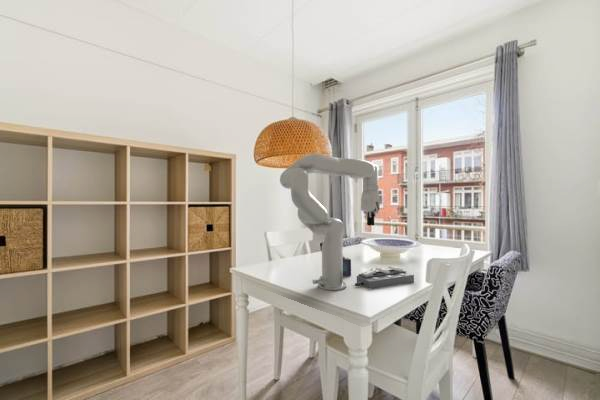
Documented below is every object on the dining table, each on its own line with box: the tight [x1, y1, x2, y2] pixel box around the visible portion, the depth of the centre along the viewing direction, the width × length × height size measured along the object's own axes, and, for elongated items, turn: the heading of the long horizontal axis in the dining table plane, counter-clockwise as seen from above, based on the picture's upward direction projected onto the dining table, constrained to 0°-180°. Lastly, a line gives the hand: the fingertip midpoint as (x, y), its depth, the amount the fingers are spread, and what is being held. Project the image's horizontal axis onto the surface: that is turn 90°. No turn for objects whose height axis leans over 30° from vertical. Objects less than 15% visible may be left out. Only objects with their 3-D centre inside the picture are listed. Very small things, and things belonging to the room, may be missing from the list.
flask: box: [343, 256, 352, 277], centre depth 146 cm, size 9×3×11 cm, turn 72°
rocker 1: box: [361, 268, 377, 276], centre depth 131 cm, size 6×4×1 cm, turn 113°
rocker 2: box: [374, 266, 390, 273], centre depth 134 cm, size 6×4×1 cm, turn 113°
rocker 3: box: [387, 265, 404, 271], centre depth 137 cm, size 6×4×1 cm, turn 113°
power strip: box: [354, 269, 415, 290], centre depth 131 cm, size 30×10×4 cm, turn 113°
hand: (370, 225), depth 139 cm, fingers closed
